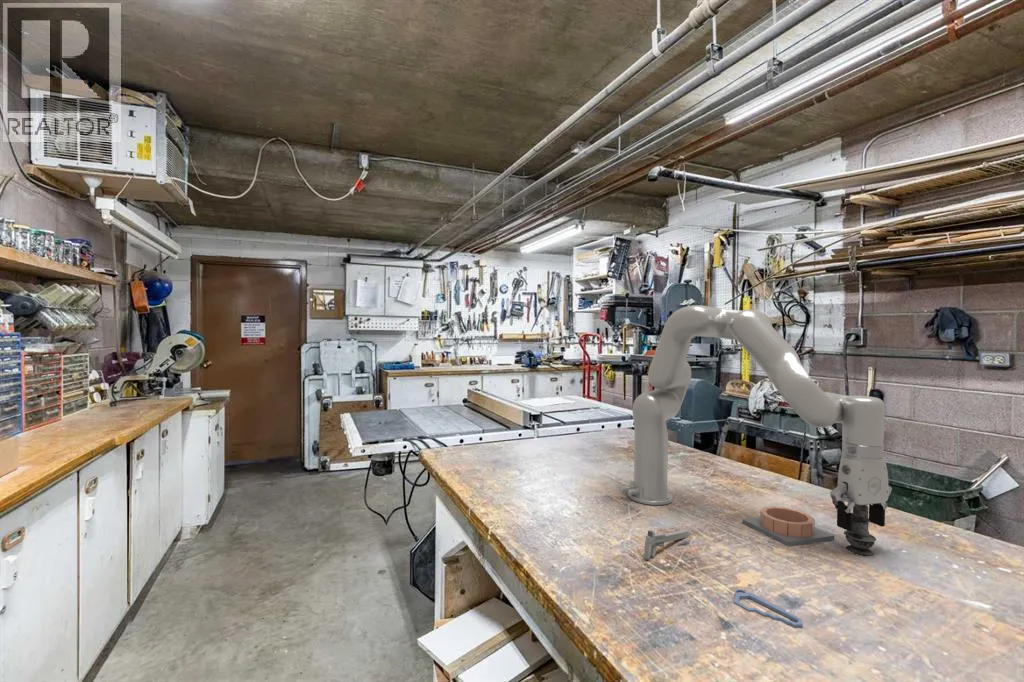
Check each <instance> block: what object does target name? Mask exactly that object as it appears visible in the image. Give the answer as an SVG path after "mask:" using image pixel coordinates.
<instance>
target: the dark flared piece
mask: <svg viewBox="0 0 1024 682" xmlns="http://www.w3.org/2000/svg"><path fill="white" fill-rule="evenodd" d="M852 513H853V530H852V531H848V530H844V532H843V534H844V535H845V539H846V541H847V543H848V545H846V546H845V547H844V549H845V548H846V549H847V550H848V551H847V550H846V549H845V550H846V551H847V552H849V551H850V552H849V553H851V552H852V553H851V554H853V553H854V554H853V555H856V554H858V555H857V556H860V555H862V556H861V557H866V556H868V557H869V556H871V557H874V556H875V552H873V550H871V548H873V546H874V545H875V542H876V541H877V538H876V537H875V536H874V535H872V534H870V531H869V523H871V522H870V520H869V505H857V504H855V505H854V507H853V508H852Z"/></svg>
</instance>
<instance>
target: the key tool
mask: <svg viewBox="0 0 1024 682" xmlns="http://www.w3.org/2000/svg"><path fill="white" fill-rule="evenodd" d="M747 599H750V600H752V601H755V602H756V603H758V604H760V605H762V606H763V607H766V608H767V609H769V610H772V611H773V612H776V613H777V614H780V615H781V616H783V617H781V616H779V615H777V614H772V613H770V612H768V611H762V610H760V609H758V608H756V607H748V606H746V605H744V604H743V603H740V600H747ZM733 603H734V604H735V605H737V606H738V607H740V608H742V609H743V610H745V611H747V612H754V613H757V614H759V615H761V616H763V617H765V618H766V617H768V618H770V619H772V620H773V621H780V622H782V623H784V624H786V625H788V626H791V627H793V628H797V629H798V628H803V619H802V618H801V617H798V616H797V615H795V614H793V613H791V612H790V611H787V610H786V609H784V608H782V607H780V606H778V605H777V604H773V603H772V602H770V601H768V600H766V599H764V598H763V597H761V596H758V595H757V594H755V593H753V592H750V591H749V592H747V591H746V590H745V589H740V588H737V589H735V590H734V601H733ZM784 617H785V618H784ZM786 618H787V619H786ZM789 619H790V620H789Z"/></svg>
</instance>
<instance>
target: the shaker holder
mask: <svg viewBox="0 0 1024 682" xmlns="http://www.w3.org/2000/svg"><path fill="white" fill-rule="evenodd" d="M741 521H742V522H741V523H742V524H744V525H746V526H748V527H749V526H750V528H751V527H752V529H753V528H754V530H755V531H758V532H760V533H761V534H763V535H765V536H767V537H769V538H771V539H773V540H775V541H777V542H779V543H781V544H783V545H785V546H787V547H794V545H795V546H801V544H802V545H807V544H808V543H809V544H814V543H815V542H816V543H821V541H823V542H829V540H830V541H835V535H834V534H831V533H830V532H828V531H825V530H823V529H820V528H818V527H816V523H815V522H816V520H815V518H814V517H813V516H811V514H808V513H806V512H803V511H801V510H797V509H793V508H790V507H784V506H773V505H772V506H763V507H762V508H761V509H760V510H759V516H756V517H748V518H747V517H746V518H742V519H741ZM816 543H815V544H816ZM809 544H808V545H809Z"/></svg>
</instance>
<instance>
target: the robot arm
mask: <svg viewBox="0 0 1024 682" xmlns="http://www.w3.org/2000/svg"><path fill="white" fill-rule="evenodd" d="M696 337H705V338H718V339H726V340H734V341H737V342H738V343H739V344H740V346H741V347H742V348H743V349H744V350H745V352H747V353H748V354H749V356H750V357H752V359H753V360H754V361H755V362H756V364H757V365H758V366H759V367H760V368H761V370H763V371H764V372H765V374H766V376H767V378H768V379H769V380H770V382H771V383H772V385H773V386H774V388H775V389H776V390H777V392H778V393H779V395H780V396H781V397H782V399H784V400H785V402H786V403H787V404H788V405H789V406H790V408H791V409H792V410H793V411H794V412H795V413H796V414H797V415H798V416H799V417H800V419H801V420H803V421H804V422H805V423H807V424H808V425H810V426H812V427H814V428H822V429H823V428H829V427H830V426H832V425H834V424H839V423H840V424H841V425H842V435H841V437H842V438H841V440H842V441H841V445H842V446H841V457H840V462H839V467H838V473H837V474H838V475H837V486H836V487H835V488H833V489H832V490H831V491H830V492H829V495H830V498H831V500H832V504H833V505H834V508H835V509H836V526H837V527H839V528H841V529H842V530H844V531H846V530H848V531H852V530H853V512H852V511H853V507H854V505H855V504H857V505H867V506H868V519H869V520H870V522H869V523H872V524H873V525H876V526H879V527H885V525H886V523H885V521H886V509H887V508H888V502H889V500H890V495H891V492H892V491H893V488H892V487H891V485H889V473H888V467H887V462H886V459H885V457H884V450H885V449H884V447H885V446H884V443H885V403H884V401H883V400H882V399H881V398H879V397H875V396H866V395H845V394H839V393H833V392H828V391H823V389H821V387H820V386H819V385H818V384H817V383H816V382H815V381H814V380H813V379H812V377H811V376H810V375H809V373H807V371H806V370H805V368H804V367H803V365H802V363H801V361H800V360H801V359H800V357H799V354H798V353H797V351H796V350H795V348H794V347H792V345H790V343H789V342H788V341H786V339H785V338H784V337H783V336H781V334H780V333H779V332H778V331H777V330H776V329H775V328H774V327H773V324H772V321H771V318H770V317H769V316H768V315H767V314H766V313H764V312H762V311H760V310H754V309H744V310H741V309H739V310H738V309H729V308H728V309H727V308H719V307H713V306H707V305H701V304H700V305H699V304H698V305H697V304H696V305H695V304H694V305H689V306H684V307H682V308H679V309H677V310H675V311H674V312H673V313H672V314H671V315H670V316H669V317H668V318H667V320H666V321H665V324H664V326H663V329H662V332H661V336H660V338H659V341H658V344H657V346H656V348H655V352H654V354H653V356H652V359H651V361H650V362H651V363H650V366H649V369H648V372H647V379H648V382H649V384H650V385H651V386H652V387H654V389H653V390H647V391H645V392H643V393H640V394H639V395H638V396H637V397H636V398H635V399H634V401H633V403H632V404H633V405H632V419H633V427H634V459H633V460H634V461H633V463H634V464H633V465H634V466H633V480H630V483H629V484H628V485H619V486H618V492H619V493H620V494H623V493H627V496H628V497H629V499H630V500H632V501H634V502H637V503H640V504H643V505H651V506H663V505H664V506H666V505H669V504H671V503H672V502H673V499H674V498H673V497H674V496H673V495H672V494H671V493H670V492H668V468H669V467H668V466H669V433H668V428H667V427H668V426H667V421H668V420H670V419H673V418H675V417H676V416H677V415H678V414H679V411H680V410H681V408H682V404H683V401H684V399H685V396H686V394H687V391H688V388H689V386H690V383H691V381H692V380H691V379H692V367H691V366H690V363H689V362H688V361H687V359H686V358H687V357H688V354H689V351H690V349H691V341H692V339H693V338H696ZM845 503H847V504H845Z"/></svg>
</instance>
